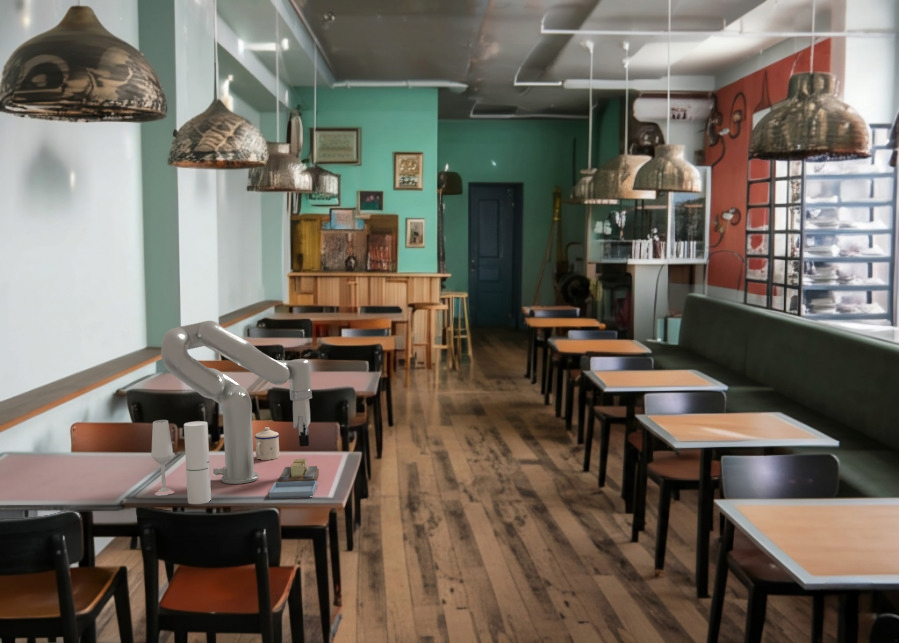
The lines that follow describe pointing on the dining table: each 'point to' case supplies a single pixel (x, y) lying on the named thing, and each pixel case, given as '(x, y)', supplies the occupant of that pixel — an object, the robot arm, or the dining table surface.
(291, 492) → the tray
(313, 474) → the slot bed
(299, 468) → the tan wooden cube
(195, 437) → the cylindrical container
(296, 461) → the light brown cube
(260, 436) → the teacup with lid
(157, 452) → the champagne flute
